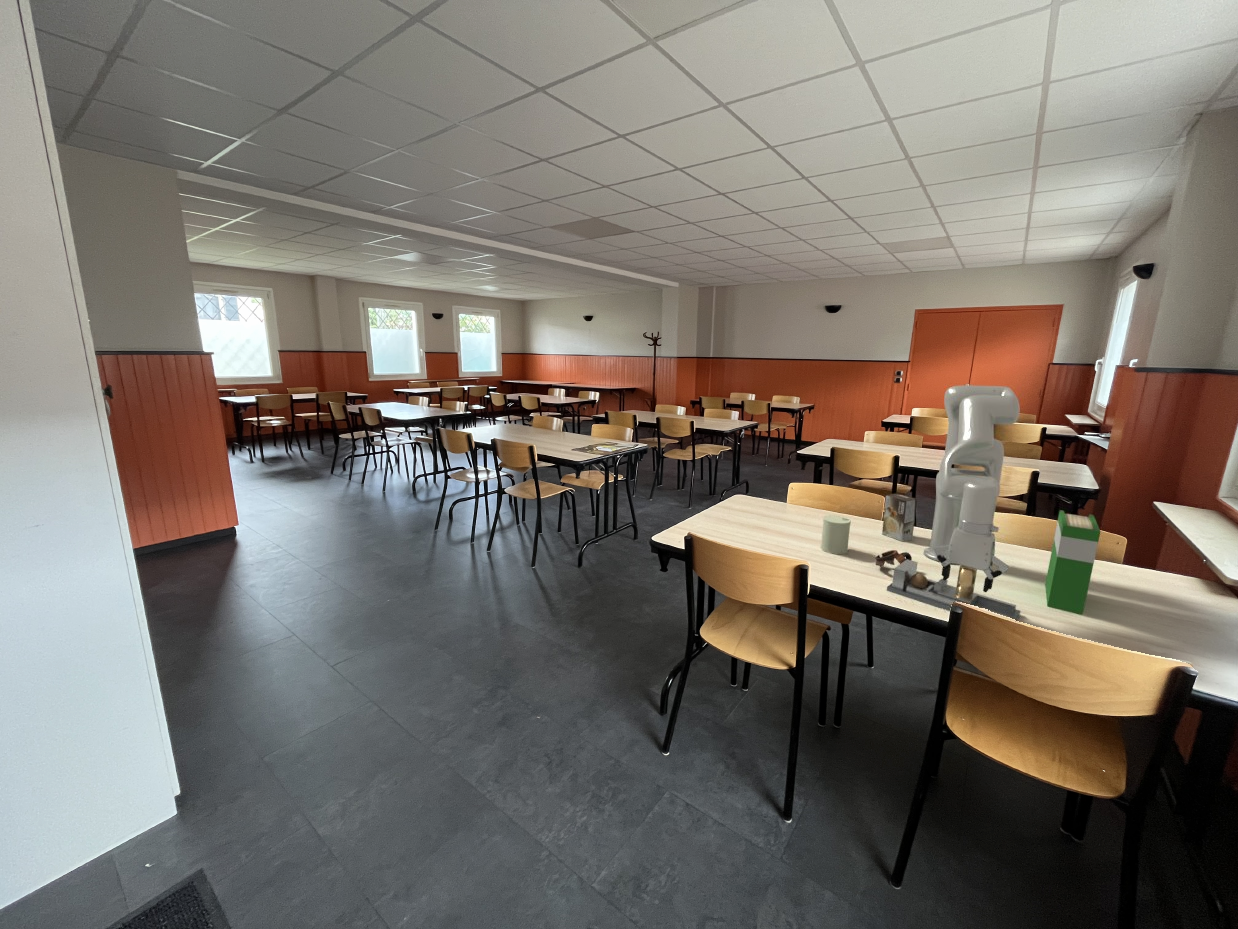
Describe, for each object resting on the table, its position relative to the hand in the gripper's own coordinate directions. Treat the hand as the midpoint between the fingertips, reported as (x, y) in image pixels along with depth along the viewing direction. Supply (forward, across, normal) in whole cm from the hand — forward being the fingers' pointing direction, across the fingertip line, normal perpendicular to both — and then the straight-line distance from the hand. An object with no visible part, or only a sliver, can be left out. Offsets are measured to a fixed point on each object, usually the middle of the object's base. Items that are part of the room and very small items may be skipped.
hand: (965, 584), depth 142 cm
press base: (+6, +3, 0) cm, 7 cm away
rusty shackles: (+7, +22, -10) cm, 25 cm away
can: (+7, +44, -14) cm, 47 cm away
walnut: (+3, +11, 0) cm, 12 cm away
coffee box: (+7, +34, -45) cm, 57 cm away
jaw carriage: (+5, +2, 0) cm, 5 cm away
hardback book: (+7, -18, -27) cm, 33 cm away
